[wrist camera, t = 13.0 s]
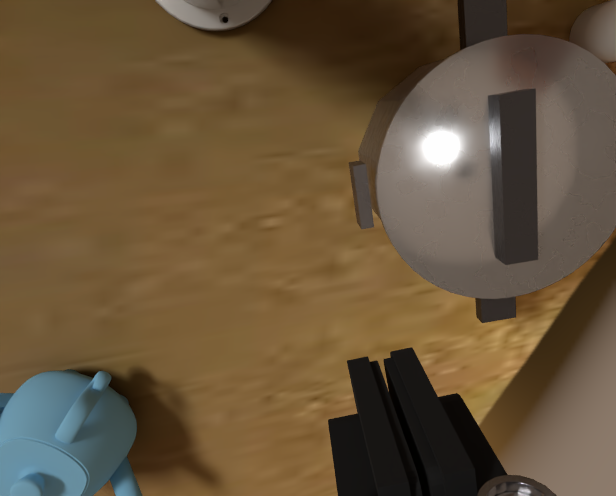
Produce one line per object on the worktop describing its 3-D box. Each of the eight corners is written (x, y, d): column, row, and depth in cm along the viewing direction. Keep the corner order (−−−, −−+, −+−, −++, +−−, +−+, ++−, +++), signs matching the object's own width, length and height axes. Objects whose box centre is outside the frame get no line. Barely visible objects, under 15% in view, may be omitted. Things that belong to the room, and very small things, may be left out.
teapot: (-29, 422, 51) (-119, 512, 40) (37, 310, 47) (-41, 374, 36) (130, 499, 55) (90, 600, 44) (203, 401, 51) (180, 484, 40)
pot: (321, 35, 41) (332, 14, 31) (542, -4, 40) (621, -38, 31) (359, 299, 48) (377, 346, 39) (544, 267, 48) (608, 306, 39)
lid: (358, 62, 31) (364, 58, 29) (637, 13, 31) (669, 4, 28) (389, 311, 37) (397, 327, 35) (624, 272, 37) (650, 285, 34)
